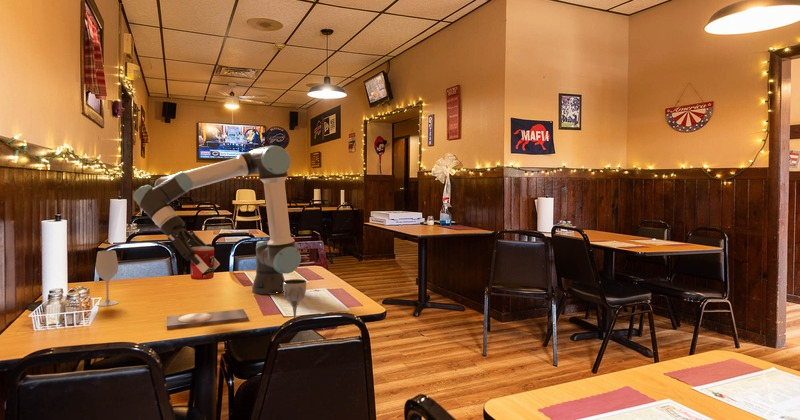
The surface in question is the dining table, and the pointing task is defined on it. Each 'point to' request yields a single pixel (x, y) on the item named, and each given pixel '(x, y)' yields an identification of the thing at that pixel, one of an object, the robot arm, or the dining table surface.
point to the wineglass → (107, 271)
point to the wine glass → (294, 292)
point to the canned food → (208, 258)
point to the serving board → (206, 318)
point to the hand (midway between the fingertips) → (211, 268)
